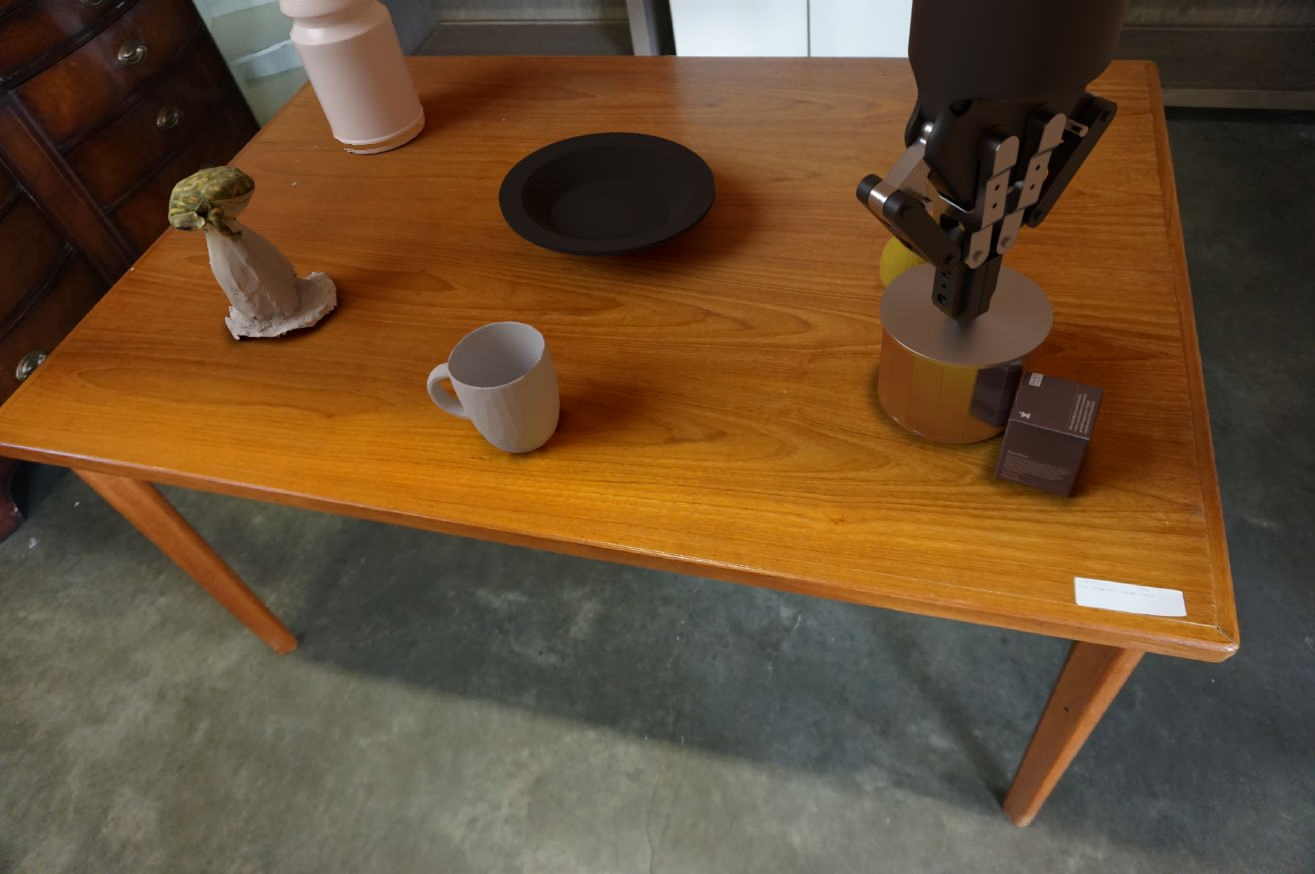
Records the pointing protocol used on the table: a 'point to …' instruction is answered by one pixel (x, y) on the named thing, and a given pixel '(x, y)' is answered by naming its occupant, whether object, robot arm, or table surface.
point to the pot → (948, 395)
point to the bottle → (356, 69)
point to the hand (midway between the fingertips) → (960, 310)
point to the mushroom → (247, 257)
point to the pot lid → (977, 344)
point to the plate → (607, 194)
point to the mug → (502, 385)
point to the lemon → (896, 261)
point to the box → (1048, 433)
